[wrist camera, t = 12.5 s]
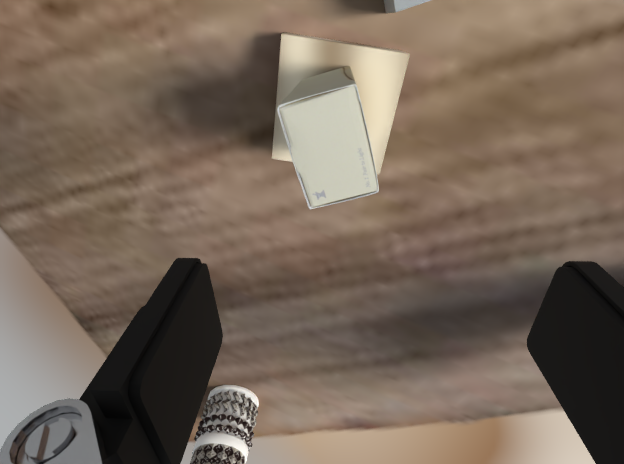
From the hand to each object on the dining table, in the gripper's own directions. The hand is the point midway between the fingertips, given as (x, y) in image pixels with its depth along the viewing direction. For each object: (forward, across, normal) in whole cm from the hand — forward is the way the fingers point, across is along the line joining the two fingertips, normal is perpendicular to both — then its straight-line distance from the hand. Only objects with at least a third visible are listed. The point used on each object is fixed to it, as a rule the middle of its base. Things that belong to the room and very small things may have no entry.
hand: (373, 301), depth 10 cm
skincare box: (+23, +1, 0) cm, 23 cm away
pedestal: (+27, +1, 0) cm, 27 cm away
